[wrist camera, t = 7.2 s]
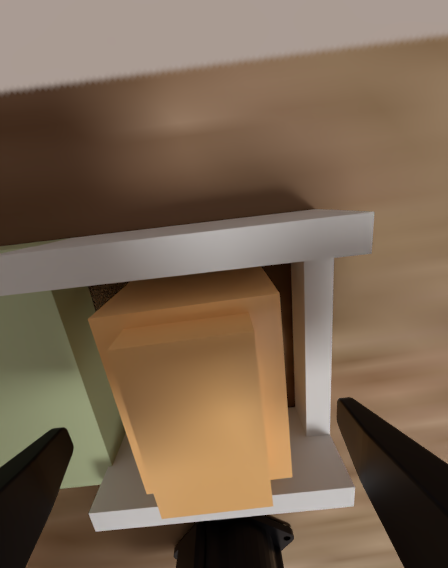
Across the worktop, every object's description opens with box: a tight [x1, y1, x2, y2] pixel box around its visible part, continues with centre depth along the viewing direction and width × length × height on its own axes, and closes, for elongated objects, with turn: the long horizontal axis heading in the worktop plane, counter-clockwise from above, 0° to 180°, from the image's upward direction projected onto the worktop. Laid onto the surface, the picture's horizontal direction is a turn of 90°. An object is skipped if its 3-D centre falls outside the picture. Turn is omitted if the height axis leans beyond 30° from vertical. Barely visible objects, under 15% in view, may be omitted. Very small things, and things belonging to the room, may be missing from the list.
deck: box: [0, 209, 374, 532], centre depth 11 cm, size 28×12×4 cm, turn 96°
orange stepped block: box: [88, 266, 293, 519], centre depth 11 cm, size 6×8×6 cm
